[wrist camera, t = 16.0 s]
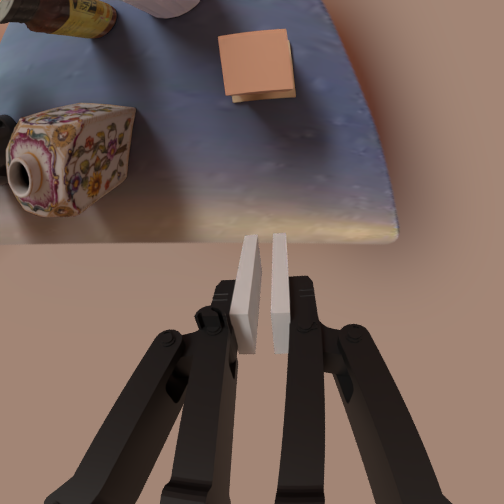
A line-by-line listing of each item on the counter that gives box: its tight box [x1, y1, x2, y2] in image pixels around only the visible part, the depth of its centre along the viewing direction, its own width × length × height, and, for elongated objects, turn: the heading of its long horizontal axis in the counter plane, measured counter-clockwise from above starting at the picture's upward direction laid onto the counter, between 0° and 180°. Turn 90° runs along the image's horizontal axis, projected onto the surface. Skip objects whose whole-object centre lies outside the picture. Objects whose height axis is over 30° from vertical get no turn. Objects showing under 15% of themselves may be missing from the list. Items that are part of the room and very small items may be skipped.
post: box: [232, 40, 296, 103], centre depth 26 cm, size 8×8×7 cm
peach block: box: [218, 29, 294, 96], centre depth 24 cm, size 6×6×10 cm
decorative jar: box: [6, 103, 136, 217], centre depth 27 cm, size 12×12×18 cm
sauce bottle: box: [0, 0, 117, 38], centre depth 15 cm, size 6×6×20 cm
